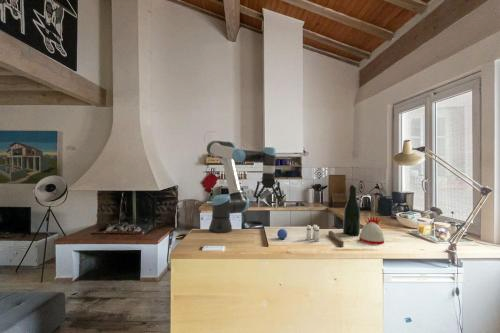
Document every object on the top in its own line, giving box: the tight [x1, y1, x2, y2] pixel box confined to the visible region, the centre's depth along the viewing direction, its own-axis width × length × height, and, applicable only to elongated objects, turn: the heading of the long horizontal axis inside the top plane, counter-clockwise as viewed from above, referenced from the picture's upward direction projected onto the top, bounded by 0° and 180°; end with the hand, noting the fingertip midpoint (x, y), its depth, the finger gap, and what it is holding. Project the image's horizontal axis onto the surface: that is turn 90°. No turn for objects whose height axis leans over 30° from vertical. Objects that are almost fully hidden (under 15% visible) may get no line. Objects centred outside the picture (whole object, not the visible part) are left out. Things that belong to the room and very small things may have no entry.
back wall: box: [328, 230, 344, 248], centre depth 167 cm, size 2×24×3 cm, turn 179°
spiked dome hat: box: [359, 216, 385, 245], centre depth 169 cm, size 14×14×15 cm
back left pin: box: [312, 224, 318, 240], centre depth 170 cm, size 2×2×8 cm
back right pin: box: [313, 226, 320, 243], centre depth 165 cm, size 2×2×8 cm
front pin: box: [306, 224, 312, 241], centre depth 167 cm, size 2×2×8 cm
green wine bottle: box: [342, 184, 361, 236], centre depth 185 cm, size 10×10×33 cm
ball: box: [277, 228, 288, 240], centre depth 168 cm, size 6×6×6 cm
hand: (267, 209), depth 168 cm, fingers open, 10 cm apart
